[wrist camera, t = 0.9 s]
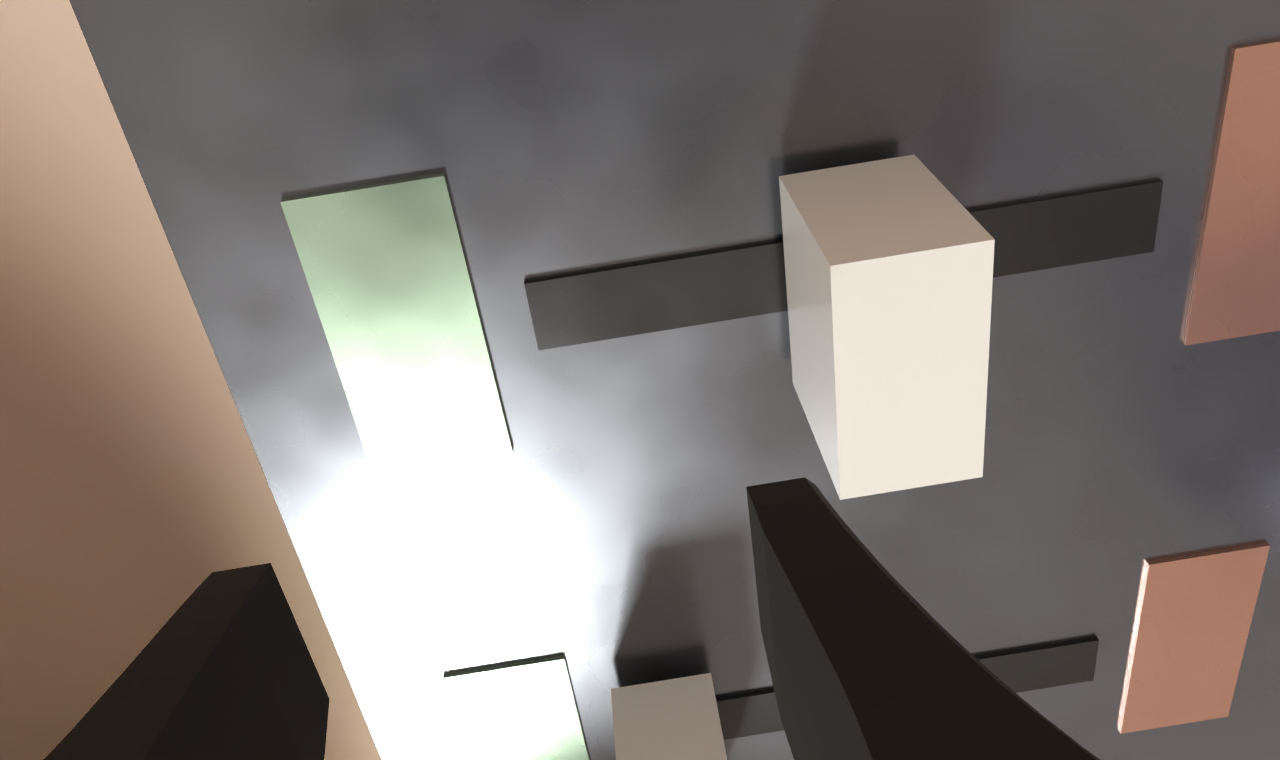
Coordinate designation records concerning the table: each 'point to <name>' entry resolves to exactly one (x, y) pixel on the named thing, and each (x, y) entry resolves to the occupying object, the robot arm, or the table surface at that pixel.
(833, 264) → the beige rectangular block
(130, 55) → the breaker panel
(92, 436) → the table surface
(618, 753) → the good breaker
